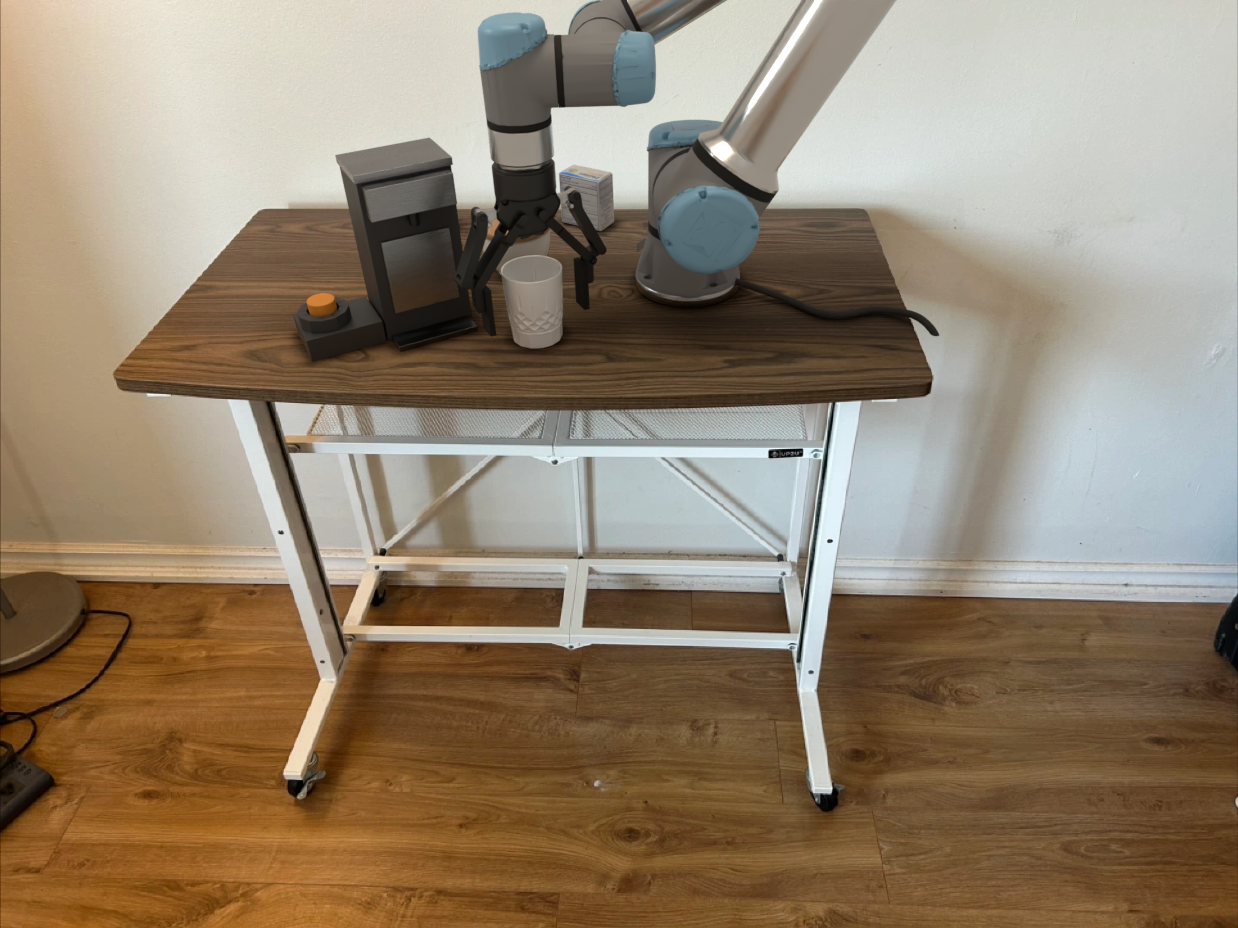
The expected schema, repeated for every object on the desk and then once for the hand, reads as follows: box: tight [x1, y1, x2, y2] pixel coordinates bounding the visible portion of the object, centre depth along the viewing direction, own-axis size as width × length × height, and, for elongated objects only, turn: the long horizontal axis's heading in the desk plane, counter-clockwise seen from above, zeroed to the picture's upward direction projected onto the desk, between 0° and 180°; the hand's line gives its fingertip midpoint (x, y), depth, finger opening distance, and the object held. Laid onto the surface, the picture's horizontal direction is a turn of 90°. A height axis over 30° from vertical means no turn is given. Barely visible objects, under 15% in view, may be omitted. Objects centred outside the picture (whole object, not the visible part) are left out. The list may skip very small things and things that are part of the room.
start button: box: [306, 292, 337, 316], centre depth 117 cm, size 4×4×2 cm
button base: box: [292, 296, 388, 362], centre depth 119 cm, size 10×8×5 cm
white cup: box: [500, 255, 564, 349], centre depth 117 cm, size 8×8×10 cm
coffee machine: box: [334, 137, 479, 353], centre depth 117 cm, size 12×12×23 cm
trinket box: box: [482, 219, 551, 275], centre depth 133 cm, size 11×11×9 cm
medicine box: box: [558, 164, 615, 232], centre depth 146 cm, size 8×4×9 cm, turn 58°
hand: (537, 318), depth 119 cm, fingers open, 13 cm apart
